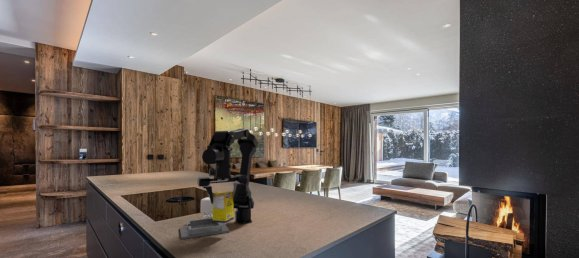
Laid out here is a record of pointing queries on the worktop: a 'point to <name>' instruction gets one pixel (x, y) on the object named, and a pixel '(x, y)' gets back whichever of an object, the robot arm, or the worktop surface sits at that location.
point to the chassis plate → (202, 228)
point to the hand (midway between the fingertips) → (223, 202)
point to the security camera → (206, 208)
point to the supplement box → (223, 207)
